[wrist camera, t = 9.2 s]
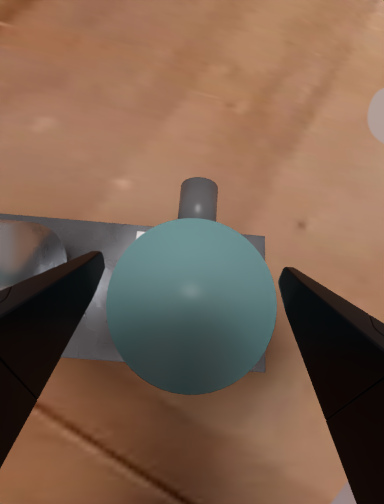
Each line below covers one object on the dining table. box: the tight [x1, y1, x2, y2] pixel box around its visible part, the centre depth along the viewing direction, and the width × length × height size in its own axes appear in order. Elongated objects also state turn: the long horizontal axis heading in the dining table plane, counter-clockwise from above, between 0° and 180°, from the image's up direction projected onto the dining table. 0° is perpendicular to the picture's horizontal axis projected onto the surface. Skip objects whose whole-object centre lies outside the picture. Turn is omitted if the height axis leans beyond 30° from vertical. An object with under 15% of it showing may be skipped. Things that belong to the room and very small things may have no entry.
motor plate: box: [0, 214, 265, 372], centre depth 13 cm, size 28×12×11 cm, turn 86°
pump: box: [106, 177, 277, 395], centre depth 12 cm, size 8×6×11 cm
